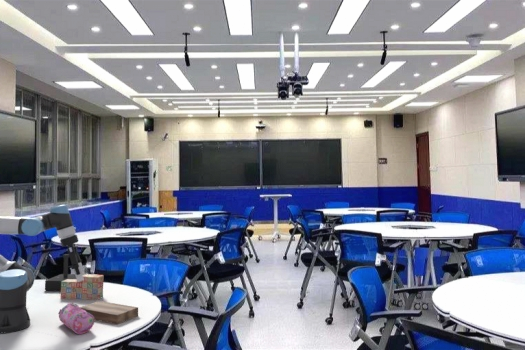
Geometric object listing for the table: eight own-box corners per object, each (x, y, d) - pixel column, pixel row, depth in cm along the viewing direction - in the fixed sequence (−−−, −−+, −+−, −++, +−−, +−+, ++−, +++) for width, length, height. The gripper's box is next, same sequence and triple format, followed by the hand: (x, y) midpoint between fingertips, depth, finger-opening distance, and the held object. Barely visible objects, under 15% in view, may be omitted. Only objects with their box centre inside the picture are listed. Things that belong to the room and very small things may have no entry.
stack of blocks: (60, 298, 214) (60, 275, 214) (66, 295, 220) (67, 273, 221) (97, 300, 212) (98, 276, 212) (103, 297, 218) (103, 274, 218)
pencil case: (57, 324, 173) (58, 303, 173) (79, 319, 179) (80, 299, 179) (71, 337, 156) (72, 314, 157) (94, 332, 162) (95, 310, 163)
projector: (72, 291, 229) (73, 257, 230) (44, 291, 229) (45, 257, 230) (86, 284, 248) (87, 252, 249) (60, 284, 248) (61, 252, 249)
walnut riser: (117, 324, 172) (117, 315, 172) (77, 316, 183) (77, 307, 183) (138, 316, 184) (138, 307, 184) (99, 309, 195) (99, 300, 195)
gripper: (74, 236, 178) (88, 280, 179) (77, 231, 201) (90, 270, 203) (56, 242, 175) (71, 286, 177) (62, 236, 198) (75, 276, 200)
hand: (81, 278), depth 190 cm, fingers open, 13 cm apart
